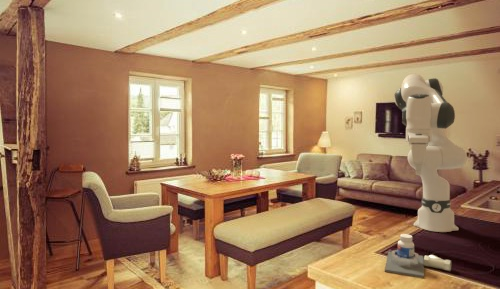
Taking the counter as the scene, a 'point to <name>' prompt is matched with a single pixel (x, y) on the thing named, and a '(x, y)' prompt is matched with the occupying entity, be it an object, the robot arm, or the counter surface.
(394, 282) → the counter surface
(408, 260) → the steel collar
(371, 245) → the counter surface
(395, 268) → the mat
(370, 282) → the counter surface
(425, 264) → the pipe fitting
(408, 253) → the pill bottle
